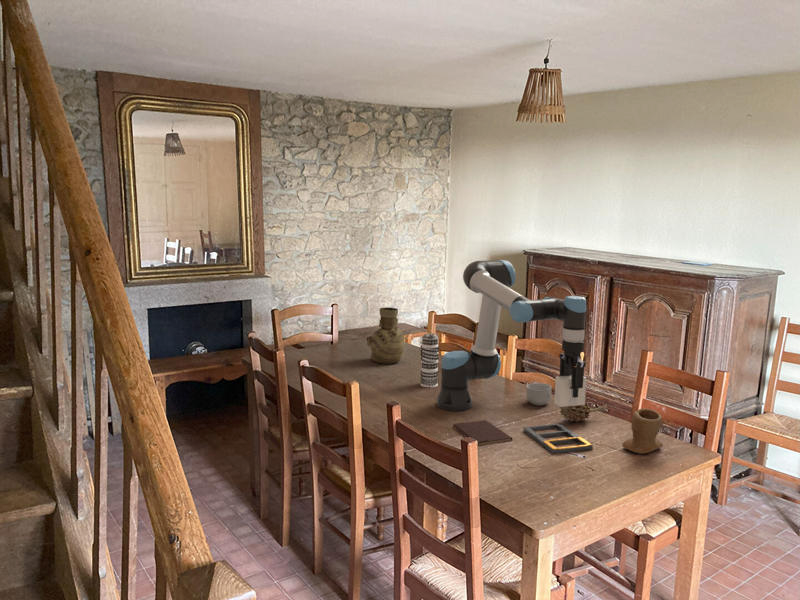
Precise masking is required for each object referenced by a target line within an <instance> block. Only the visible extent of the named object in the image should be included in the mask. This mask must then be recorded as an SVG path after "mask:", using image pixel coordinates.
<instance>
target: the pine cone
mask: <svg viewBox="0 0 800 600" xmlns="http://www.w3.org/2000/svg"><path fill="white" fill-rule="evenodd" d="M608 407H609V405H608V404H603V405H602V406H599V407H596V408H591V407H590V406H589V403H588V402H586V401H585V405H577V406H564V407H559V406H558V408H559V409H560V410H559V413H560V416H563V418H565V420H567V419H568V421H570V422H572V421H575V422H579V421H581V422H582V421H586V419H589V417H590V416H591V415H590V413H596V412H600V411H604V410H608Z"/></svg>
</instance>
